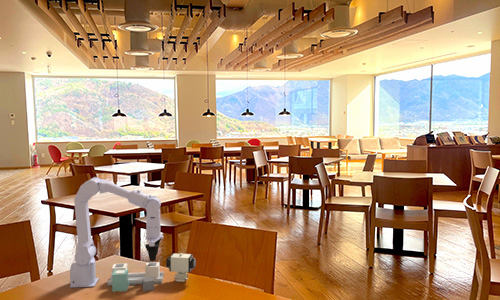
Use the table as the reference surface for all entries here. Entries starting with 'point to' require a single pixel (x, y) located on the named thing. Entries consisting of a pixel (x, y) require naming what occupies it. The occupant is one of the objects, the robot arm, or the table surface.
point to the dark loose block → (148, 284)
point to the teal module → (120, 280)
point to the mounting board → (136, 278)
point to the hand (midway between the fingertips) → (153, 257)
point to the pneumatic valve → (181, 265)
